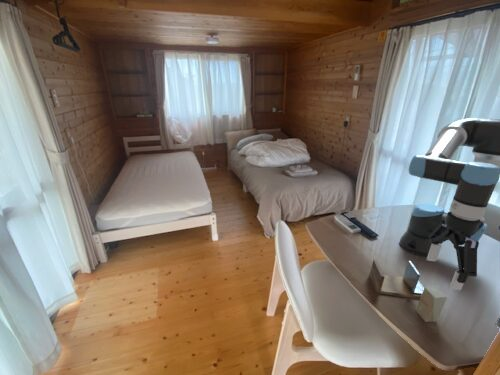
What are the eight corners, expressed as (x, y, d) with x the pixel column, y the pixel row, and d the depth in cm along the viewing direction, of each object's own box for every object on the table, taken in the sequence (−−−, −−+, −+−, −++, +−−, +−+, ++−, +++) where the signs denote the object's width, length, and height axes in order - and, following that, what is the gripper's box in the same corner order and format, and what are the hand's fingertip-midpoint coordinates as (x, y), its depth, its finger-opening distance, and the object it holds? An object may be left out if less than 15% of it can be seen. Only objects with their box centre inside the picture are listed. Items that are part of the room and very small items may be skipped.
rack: (409, 280, 101) (415, 264, 98) (421, 299, 92) (427, 282, 89) (369, 275, 103) (373, 259, 100) (376, 292, 94) (381, 276, 91)
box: (415, 310, 87) (423, 286, 83) (426, 309, 87) (435, 285, 83) (426, 322, 82) (435, 297, 78) (437, 322, 82) (448, 297, 78)
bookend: (418, 280, 99) (424, 262, 96) (428, 295, 92) (435, 276, 89) (402, 278, 100) (408, 260, 97) (411, 292, 93) (417, 274, 89)
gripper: (428, 197, 83) (412, 249, 90) (480, 236, 60) (452, 301, 67) (452, 199, 81) (434, 252, 89) (515, 240, 58) (482, 306, 66)
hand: (442, 273), depth 78 cm, fingers open, 13 cm apart
